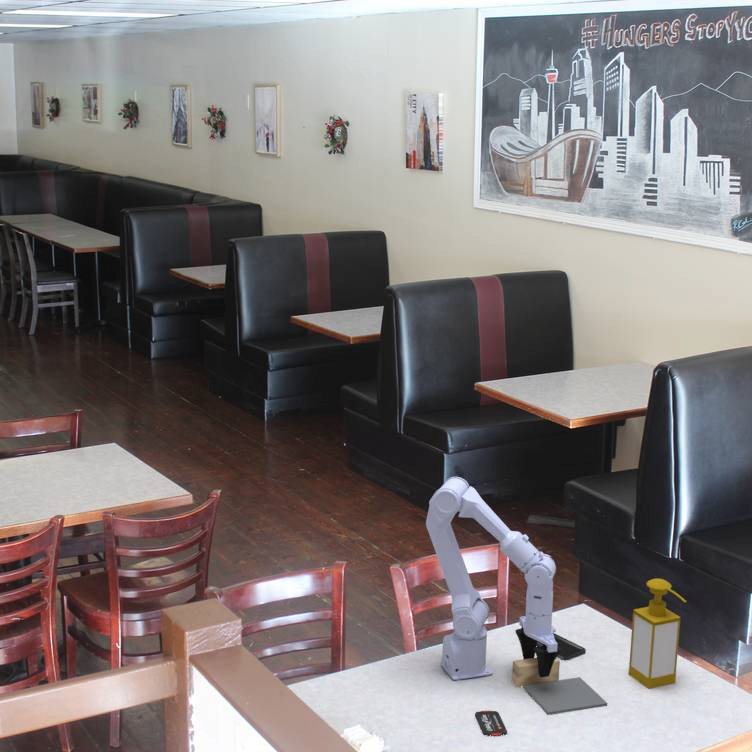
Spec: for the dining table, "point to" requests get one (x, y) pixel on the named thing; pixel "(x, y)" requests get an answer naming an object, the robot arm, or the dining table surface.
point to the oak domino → (532, 672)
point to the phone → (566, 648)
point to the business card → (490, 723)
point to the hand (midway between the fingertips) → (536, 668)
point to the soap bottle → (655, 639)
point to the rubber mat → (564, 695)
